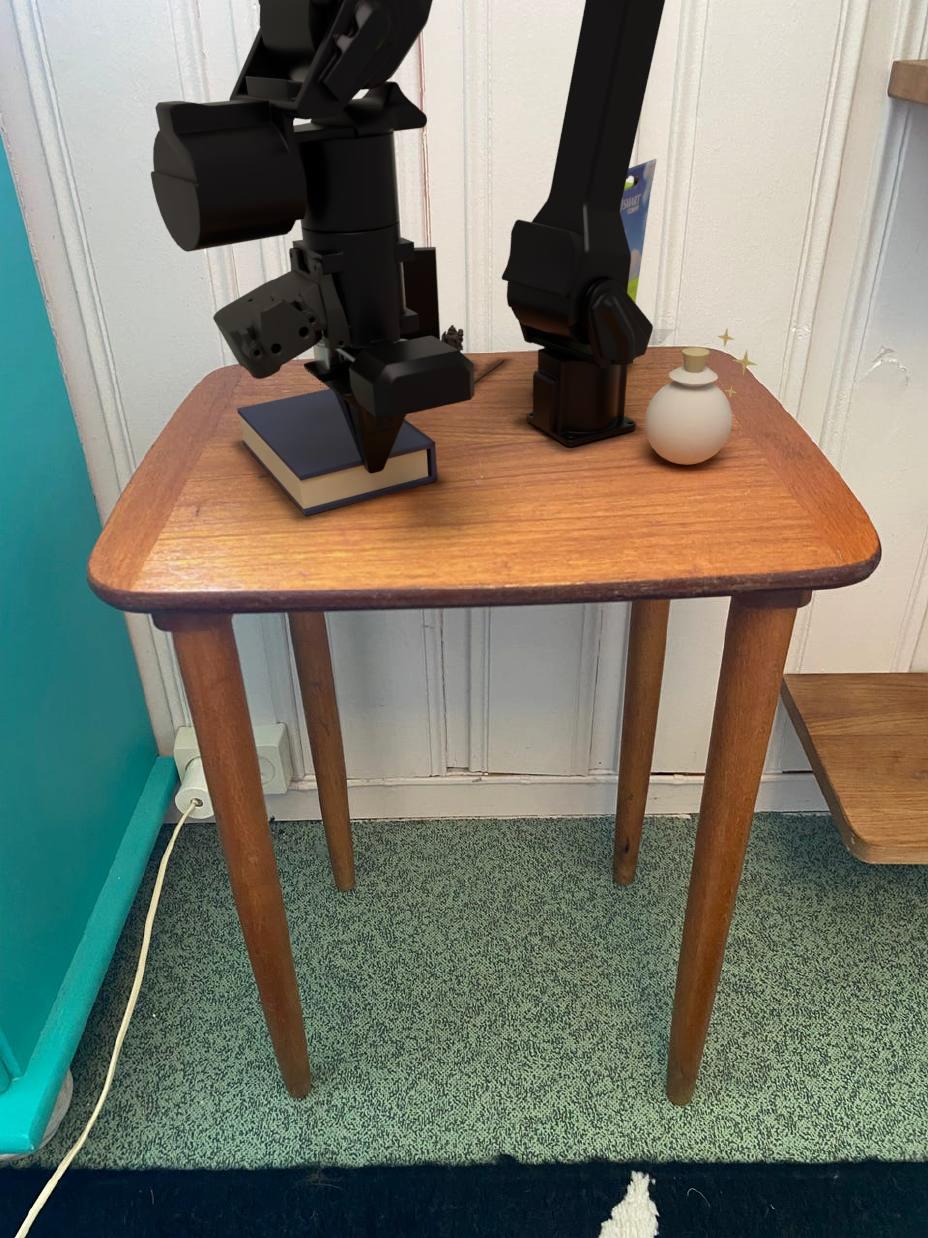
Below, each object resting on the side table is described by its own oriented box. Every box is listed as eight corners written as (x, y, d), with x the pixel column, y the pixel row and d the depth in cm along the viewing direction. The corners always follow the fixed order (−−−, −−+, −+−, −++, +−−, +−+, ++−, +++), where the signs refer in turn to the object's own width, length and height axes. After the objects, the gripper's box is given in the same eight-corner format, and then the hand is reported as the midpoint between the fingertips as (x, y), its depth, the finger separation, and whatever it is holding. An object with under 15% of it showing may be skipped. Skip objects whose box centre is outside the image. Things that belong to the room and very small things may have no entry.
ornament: (666, 437, 70) (679, 304, 64) (758, 460, 66) (781, 321, 60) (626, 465, 66) (636, 327, 61) (721, 491, 62) (742, 346, 57)
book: (360, 417, 75) (357, 382, 74) (437, 480, 65) (435, 441, 63) (243, 444, 72) (236, 408, 70) (305, 516, 61) (299, 475, 60)
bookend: (440, 345, 90) (435, 246, 85) (438, 362, 86) (433, 259, 81) (340, 348, 90) (328, 249, 85) (333, 365, 86) (321, 262, 81)
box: (592, 356, 85) (614, 151, 75) (632, 366, 83) (661, 157, 73) (535, 392, 78) (551, 171, 68) (577, 404, 76) (601, 178, 66)
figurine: (505, 360, 86) (505, 317, 83) (467, 389, 80) (466, 343, 78) (454, 353, 88) (452, 311, 85) (413, 381, 82) (410, 336, 80)
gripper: (172, 216, 57) (218, 450, 65) (268, 275, 43) (310, 562, 52) (339, 195, 61) (361, 418, 70) (475, 243, 47) (482, 513, 56)
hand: (374, 470), depth 61 cm, fingers closed
